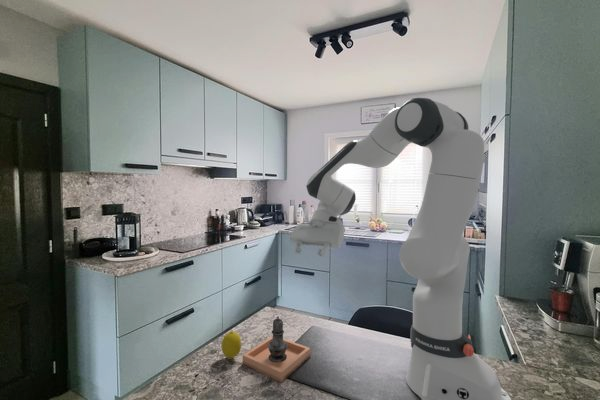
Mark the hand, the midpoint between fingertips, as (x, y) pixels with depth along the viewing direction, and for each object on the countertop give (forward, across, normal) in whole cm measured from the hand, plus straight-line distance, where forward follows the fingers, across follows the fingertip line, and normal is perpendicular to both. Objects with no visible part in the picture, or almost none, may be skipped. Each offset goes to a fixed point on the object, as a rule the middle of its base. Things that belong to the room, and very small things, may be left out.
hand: (308, 253), depth 93 cm
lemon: (+37, -12, +3) cm, 39 cm away
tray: (+32, 0, +8) cm, 33 cm away
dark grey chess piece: (+31, 0, +8) cm, 32 cm away
